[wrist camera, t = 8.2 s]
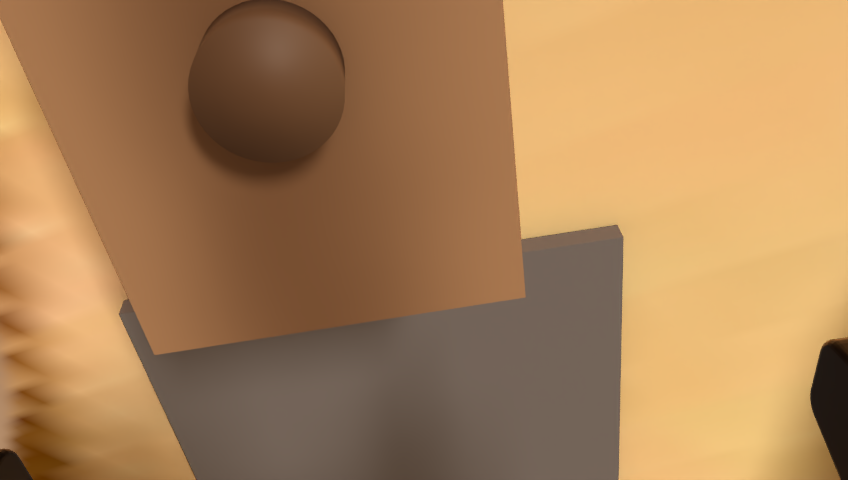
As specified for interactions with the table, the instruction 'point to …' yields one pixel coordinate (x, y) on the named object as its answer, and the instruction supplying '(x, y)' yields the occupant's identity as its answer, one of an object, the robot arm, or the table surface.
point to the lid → (284, 156)
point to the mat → (418, 385)
